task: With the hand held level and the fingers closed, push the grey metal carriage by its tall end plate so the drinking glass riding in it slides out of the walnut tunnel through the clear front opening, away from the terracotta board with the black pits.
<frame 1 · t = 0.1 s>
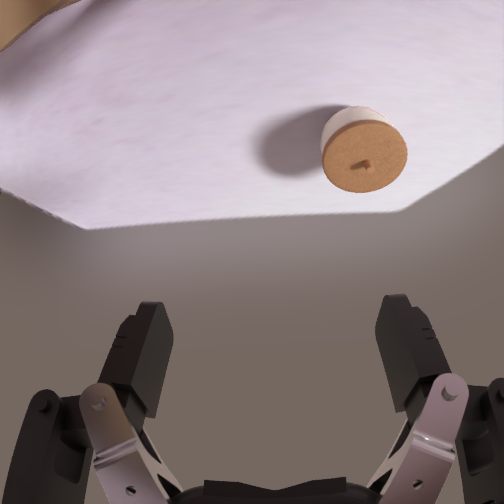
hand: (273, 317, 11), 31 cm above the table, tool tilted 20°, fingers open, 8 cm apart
lidded jar: (351, 126, 38), on the table
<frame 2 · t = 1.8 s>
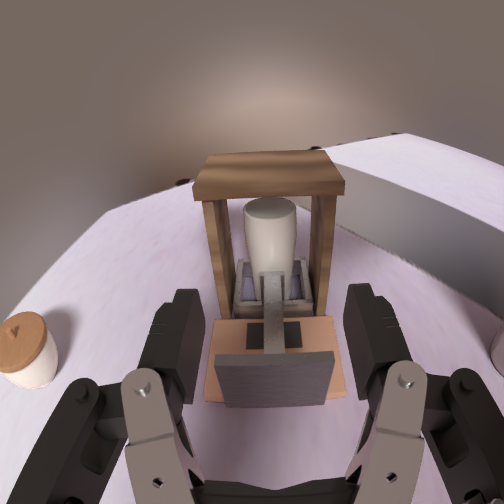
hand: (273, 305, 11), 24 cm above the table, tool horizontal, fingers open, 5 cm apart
lidded jar: (41, 373, 35), on the table
walnut tunnel: (272, 296, 47), on the table
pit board: (274, 357, 36), on the table
metal carriage: (273, 303, 37), point 6 cm above the table, slide at 0.0 cm
drinking glass: (272, 297, 47), resting in metal carriage
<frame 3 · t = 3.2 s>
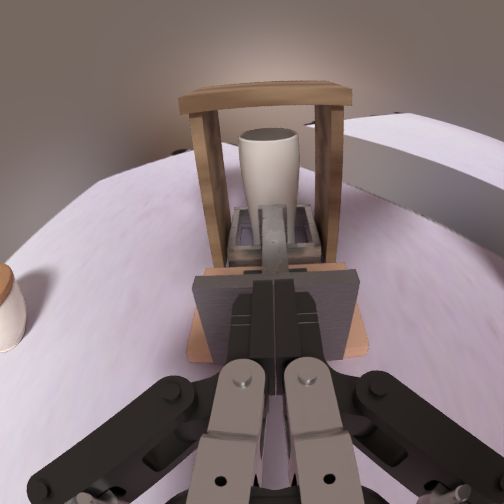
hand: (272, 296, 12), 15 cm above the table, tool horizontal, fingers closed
lidded jar: (9, 336, 29), on the table
walnut tunnel: (274, 246, 41), on the table
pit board: (276, 308, 30), on the table
metal carriage: (273, 241, 31), point 6 cm above the table, slide at 0.0 cm
drinking glass: (274, 248, 41), resting in metal carriage
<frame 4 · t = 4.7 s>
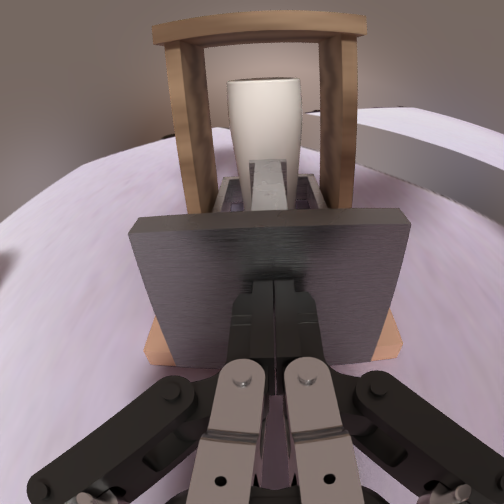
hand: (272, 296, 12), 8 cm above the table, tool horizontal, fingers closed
walnut tunnel: (270, 222, 33), on the table
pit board: (272, 293, 22), on the table
metal carriage: (269, 204, 23), point 6 cm above the table, slide at 0.2 cm, touching gripper
drinking glass: (270, 224, 33), resting in metal carriage
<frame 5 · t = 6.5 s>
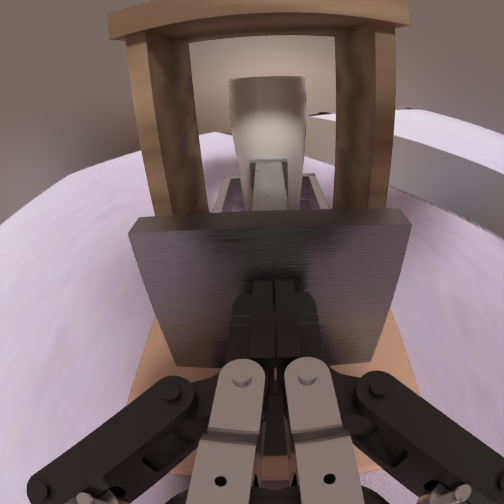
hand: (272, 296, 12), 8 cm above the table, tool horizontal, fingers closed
walnut tunnel: (272, 263, 27), on the table
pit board: (274, 378, 16), on the table
metal carriage: (270, 203, 23), point 6 cm above the table, slide at 7.5 cm, touching drinking glass, gripper
drinking glass: (272, 230, 31), resting in metal carriage
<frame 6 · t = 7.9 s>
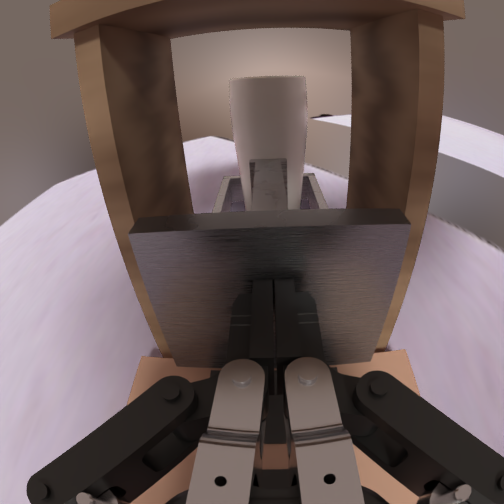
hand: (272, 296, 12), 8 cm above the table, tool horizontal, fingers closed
walnut tunnel: (273, 305, 22), on the table
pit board: (274, 462, 12), on the table
metal carriage: (269, 203, 23), point 6 cm above the table, slide at 12.6 cm, touching drinking glass, gripper
drinking glass: (273, 230, 31), resting in metal carriage
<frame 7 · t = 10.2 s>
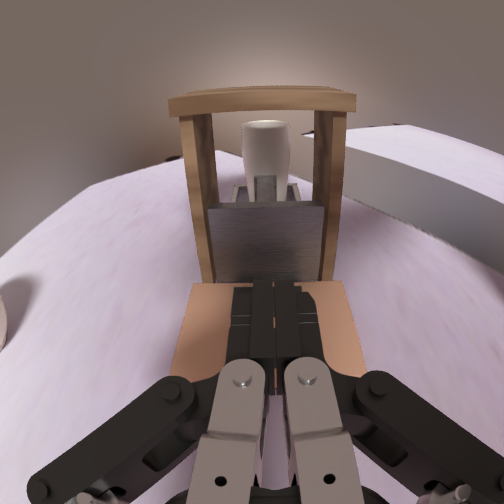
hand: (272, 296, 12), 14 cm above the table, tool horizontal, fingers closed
walnut tunnel: (267, 261, 38), on the table
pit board: (268, 329, 28), on the table
metal carriage: (265, 202, 39), point 6 cm above the table, slide at 12.5 cm
drinking glass: (268, 221, 48), resting in metal carriage
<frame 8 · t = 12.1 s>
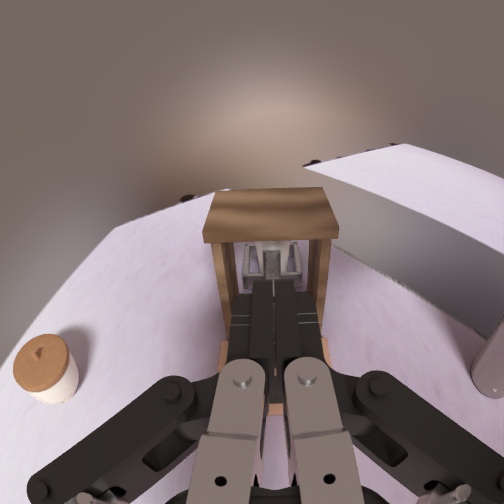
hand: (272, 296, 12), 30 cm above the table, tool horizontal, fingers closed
lidded jar: (62, 388, 39), on the table
walnut tunnel: (273, 318, 51), on the table
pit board: (274, 375, 40), on the table
metal carriage: (272, 272, 52), point 6 cm above the table, slide at 12.5 cm
drinking glass: (273, 277, 60), resting in metal carriage
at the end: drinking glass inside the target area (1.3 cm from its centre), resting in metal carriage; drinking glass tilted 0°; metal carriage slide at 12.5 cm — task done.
